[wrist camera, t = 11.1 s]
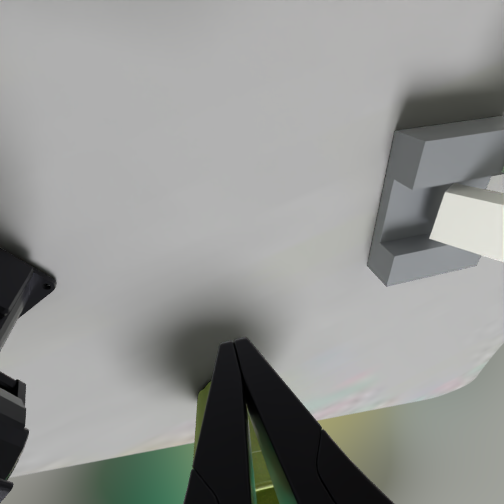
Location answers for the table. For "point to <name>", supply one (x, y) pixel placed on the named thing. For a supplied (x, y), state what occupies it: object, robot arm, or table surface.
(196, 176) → the table surface
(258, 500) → the plant pot
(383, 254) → the switch housing
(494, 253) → the switch lever
